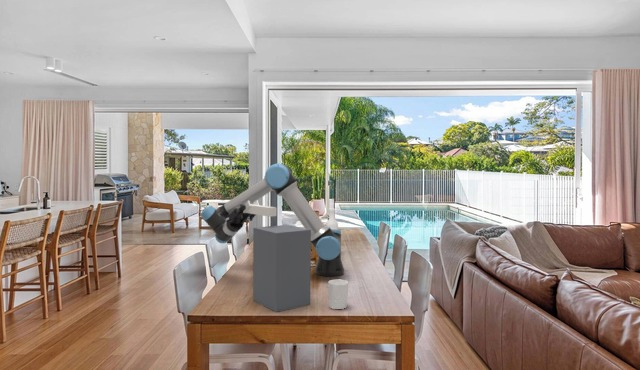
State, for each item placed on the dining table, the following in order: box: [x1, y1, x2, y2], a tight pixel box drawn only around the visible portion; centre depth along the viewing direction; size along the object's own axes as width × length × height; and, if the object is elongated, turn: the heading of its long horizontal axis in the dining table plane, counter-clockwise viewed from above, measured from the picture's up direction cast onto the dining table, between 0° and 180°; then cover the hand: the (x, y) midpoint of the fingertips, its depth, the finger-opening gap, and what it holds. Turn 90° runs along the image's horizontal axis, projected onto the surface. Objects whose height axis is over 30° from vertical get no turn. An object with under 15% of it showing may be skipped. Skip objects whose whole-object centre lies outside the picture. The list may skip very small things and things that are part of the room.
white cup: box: [327, 279, 349, 310], centre depth 167 cm, size 8×8×10 cm
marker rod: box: [240, 203, 277, 217], centre depth 186 cm, size 26×4×4 cm, turn 37°
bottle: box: [325, 207, 339, 230], centre depth 267 cm, size 8×8×30 cm
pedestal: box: [252, 224, 312, 313], centre depth 172 cm, size 18×16×30 cm
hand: (253, 203), depth 189 cm, fingers closed on marker rod, 4 cm apart
